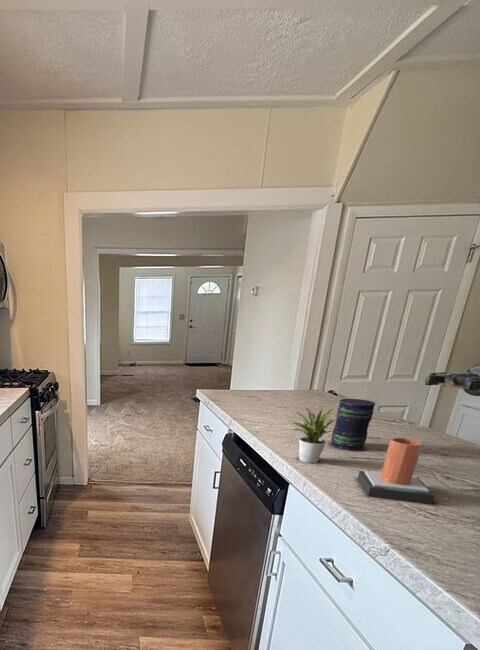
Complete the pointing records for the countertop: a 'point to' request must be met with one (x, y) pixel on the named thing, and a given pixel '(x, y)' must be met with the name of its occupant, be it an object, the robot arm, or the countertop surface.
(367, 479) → the scale
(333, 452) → the countertop surface
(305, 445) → the house plant
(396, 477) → the cup
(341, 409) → the storage jar
